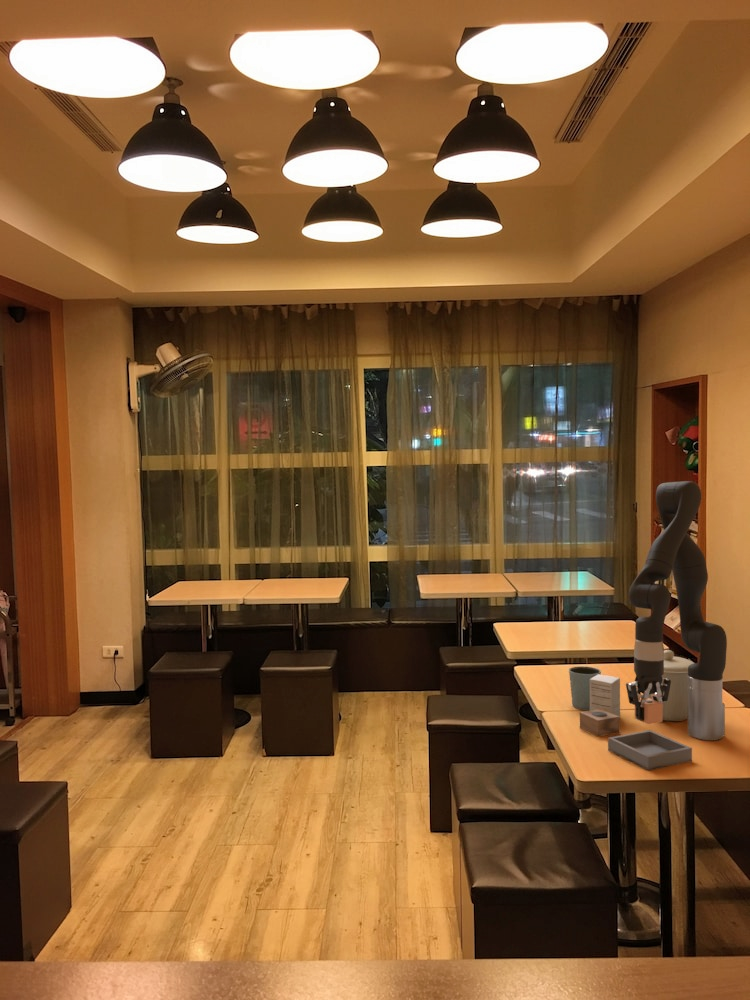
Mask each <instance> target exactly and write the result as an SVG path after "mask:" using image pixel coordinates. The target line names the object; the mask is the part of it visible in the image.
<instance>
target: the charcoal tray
mask: <svg viewBox="0 0 750 1000" xmlns="http://www.w3.org/2000/svg"><path fill="white" fill-rule="evenodd" d="M607 738H608V739H607V749H608V752H611V753H613V754H615V755H617V756H619V757H621V758H622V759H625V760H627V761H628V762H631V763H633V764H634V765H637V766H638V767H639V768H643V769H645V770H646V771H648V772H649V771H653V770H657V769H662V768H665V767H666V768H667V767H670V766H676V765H681V764H685V763H690V762H692V761H693V748H692V747H690V746H688V745H686V744H684V743H681V742H679V741H677V740H675V739H671V738H669V737H667V736H665V735H663V734H661V733H658V732H656V731H653V730H651V729H647V730H641V731H638V732H637V731H636V732H632V733H628V734H622V735H620V734H619V735H615V736H610V737H607Z"/></svg>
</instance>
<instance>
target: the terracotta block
mask: <svg viewBox="0 0 750 1000" xmlns="http://www.w3.org/2000/svg"><path fill="white" fill-rule="evenodd" d="M640 701H641V698H640ZM640 701H639V702H640ZM662 717H663V703H660V702H658V701H655V700H653V699H650V698H648V699H647V700H646V701H645V704H644V721H640V720H638V719H637V718H636V706H635V705H634V719H635V720H637V721H640V722H642V723H645V724H646V725H651V724H656V723H657V724H658V723H663V720H662Z"/></svg>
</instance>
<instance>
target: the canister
mask: <svg viewBox="0 0 750 1000" xmlns="http://www.w3.org/2000/svg"><path fill="white" fill-rule="evenodd" d="M691 664H695V662H693V661H692V660H690V659H687V658H684V657H681V656H675V652H674V651H672V650H670V649H664V674H663V675H662V678H666V679H669V680H671V685H670V690H669V695H668V700H667V701H664V702H663V717H662V721H666V722H681V721H684V720H685V721H686V720H688V667H689V665H691ZM642 695H644V694H643V693H642ZM663 696H664V691H663ZM648 698H650V699H652V696H651V695H650V694H649V696H648Z"/></svg>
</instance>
